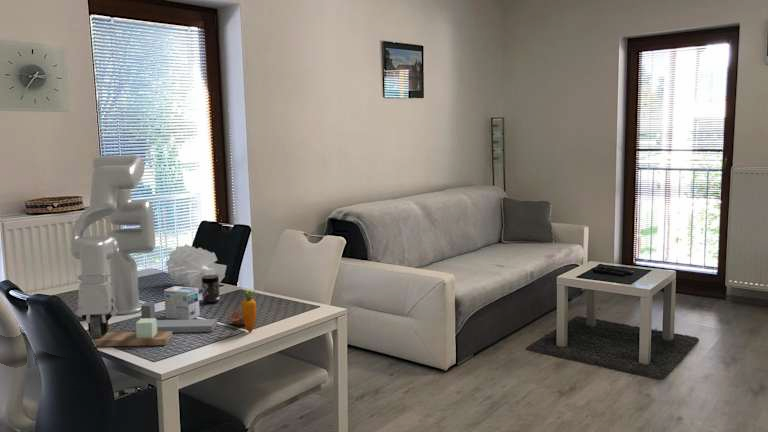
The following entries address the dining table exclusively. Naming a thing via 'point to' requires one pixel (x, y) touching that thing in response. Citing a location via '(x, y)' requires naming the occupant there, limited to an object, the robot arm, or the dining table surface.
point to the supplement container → (210, 289)
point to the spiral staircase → (193, 266)
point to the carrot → (249, 311)
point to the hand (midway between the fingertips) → (98, 333)
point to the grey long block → (178, 322)
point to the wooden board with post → (124, 336)
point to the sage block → (146, 328)
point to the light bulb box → (181, 303)
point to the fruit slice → (236, 317)
